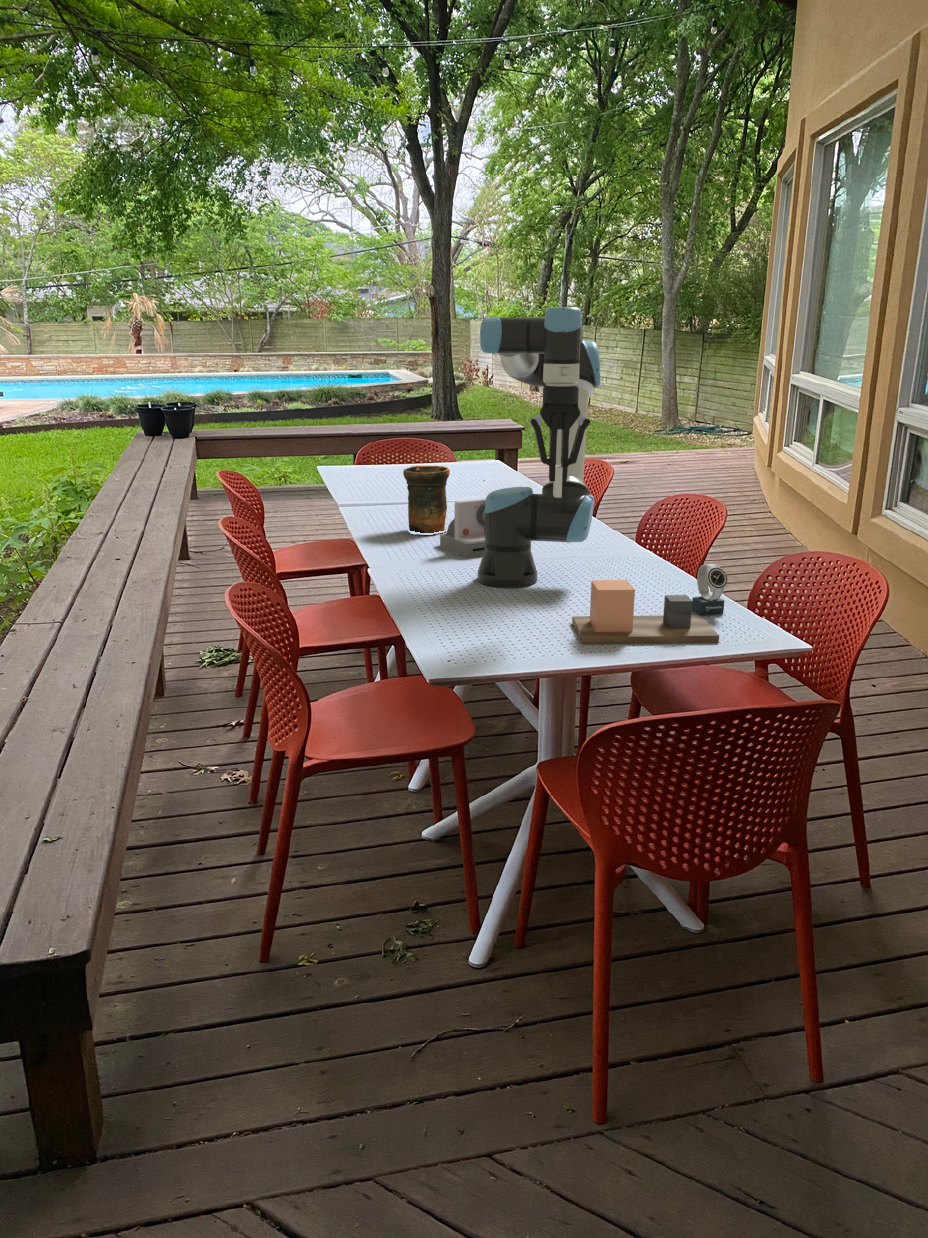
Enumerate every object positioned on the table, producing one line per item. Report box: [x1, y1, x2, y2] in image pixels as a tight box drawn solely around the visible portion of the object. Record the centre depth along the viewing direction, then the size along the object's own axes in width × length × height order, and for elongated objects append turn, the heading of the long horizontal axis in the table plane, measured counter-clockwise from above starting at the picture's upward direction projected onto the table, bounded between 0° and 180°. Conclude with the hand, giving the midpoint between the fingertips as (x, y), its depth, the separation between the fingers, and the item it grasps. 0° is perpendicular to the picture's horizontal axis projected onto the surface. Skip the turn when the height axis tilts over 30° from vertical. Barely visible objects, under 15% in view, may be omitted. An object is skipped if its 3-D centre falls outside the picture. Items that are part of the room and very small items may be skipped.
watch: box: [691, 563, 729, 617], centre depth 208 cm, size 6×8×11 cm
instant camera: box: [439, 497, 486, 559], centre depth 267 cm, size 21×21×15 cm
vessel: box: [402, 464, 451, 533], centre depth 288 cm, size 14×14×20 cm
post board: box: [571, 594, 720, 645], centre depth 194 cm, size 14×28×8 cm, turn 93°
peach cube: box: [589, 579, 636, 632], centre depth 193 cm, size 8×8×9 cm
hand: (557, 496), depth 201 cm, fingers closed
